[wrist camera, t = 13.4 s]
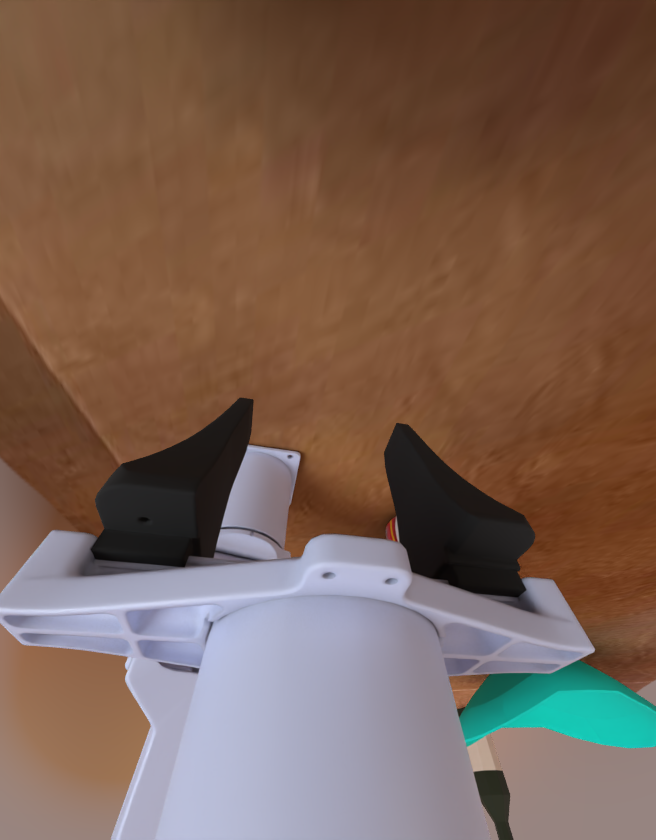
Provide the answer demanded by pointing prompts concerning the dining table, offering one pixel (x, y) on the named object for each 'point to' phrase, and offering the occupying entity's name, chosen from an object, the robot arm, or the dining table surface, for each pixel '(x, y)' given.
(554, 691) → the table top decor
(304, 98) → the dining table surface
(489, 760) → the wine bottle
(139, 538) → the robot arm
